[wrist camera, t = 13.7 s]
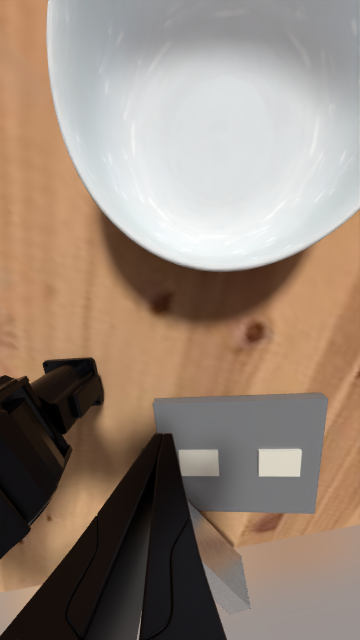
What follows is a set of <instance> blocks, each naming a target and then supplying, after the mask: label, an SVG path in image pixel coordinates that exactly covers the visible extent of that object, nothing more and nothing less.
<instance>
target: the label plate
mask: <svg viewBox="0 0 360 640" xmlns="http://www.w3.org/2000/svg"><path fill="white" fill-rule="evenodd" d="M327 404H328V398H327V397H326V396H325V395H323V394H322V393H301V394H273V395H245V396H216V397H188V398H159V399H154V402H153V408H154V415H155V421H156V428H157V433H163V434H164V433H172V434H173V438H174V443H175V447H176V452H177V456H178V461H179V465H180V470H181V474H182V479H183V483H184V488H185V492H186V497H187V500H188V501H189V502H190V503H191V504H192V505H193V507H194V508H195V509H196V510H197V511H223V512H265V513H308V514H315V506H316V497H317V489H318V480H319V472H320V464H321V455H322V447H323V438H324V430H325V421H326V413H327ZM142 451H143V449H142V450H141V452H142ZM140 454H141V453H140Z"/></svg>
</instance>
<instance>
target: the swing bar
mask: <svg viewBox="0 0 360 640" xmlns="http://www.w3.org/2000/svg"><path fill="white" fill-rule="evenodd" d="M132 465H133V464H132ZM187 501H188V500H187ZM188 506H189V510H190V515H191V519H192V523H193V528H194V532H195V536H196V540H197V544H198V548H199V552H200V556H201V559H202V563H203V566H204V569H205V573H206V576H207V579H208V583H209V586H210V589H211V592H212V595H213V598H214V600H215V601H216V602H217V603H218V604H219V605H220V606H221V607H222V608H223V609H224V610H225V611H226V612H228V613H229V614H234V613H237V612H241V611H244V610H247V609H250V602H249V596H248V591H247V585H246V580H245V575H244V569H243V563H242V557H241V556H240V554H239V553H237V551H236V550H235V549H234V548H233V547H232V546H231V545H230V544H229V543H228V542H227V541H226V540H225V539H224V538H223V537H222V536H221V535H220V534H219V533H218V532H217V530H216V529H215V528H214V527H213V526H212V525H211V524H210V523H209V522H208V521H207V520H206V519H205V518H204V517H203V516H202V515H201V514H200V513H199V512H198V511H197V510H196V509H195V508H194V507H193V505H192V504H191V503H190V502H189V501H188Z"/></svg>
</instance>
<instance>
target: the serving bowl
mask: <svg viewBox="0 0 360 640" xmlns="http://www.w3.org/2000/svg"><path fill="white" fill-rule="evenodd" d="M47 55H48V70H49V78H50V86H51V92H52V97H53V103H54V107H55V112H56V116H57V120H58V124H59V127H60V131H61V134H62V136H63V139H64V142H65V145H66V148H67V151H68V153H69V156H70V158H71V160H72V162H73V165H74V167H75V169H76V171H77V173H78V175H79V177H80V179H81V181H82V182H83V184H84V186H85V188H86V189H87V191H88V192H89V194H90V196H91V197H92V199H93V200H94V201H95V203H96V204H97V206H98V207H99V208H100V209H101V211H102V212H103V213H104V214H105V215H106V216H107V218H108V219H109V220H110V221H111V222H112V223H113V224H114V225H115V226H116V227H117V228H118V229H119V230H120V231H121V232H122V233H123V234H125V235H126V236H127V237H128V238H129V239H131V240H132V241H133V242H134V243H136V244H137V245H139V246H140V247H142V248H143V249H145V250H146V251H148V252H150V253H152V254H153V255H155V256H157V257H159V258H161V259H163V260H166V261H168V262H171V263H173V264H176V265H179V266H182V267H186V268H191V269H195V270H201V271H210V272H233V271H242V270H249V269H254V268H258V267H262V266H266V265H269V264H272V263H276V262H278V261H281V260H283V259H286V258H288V257H291V256H293V255H295V254H297V253H299V252H301V251H303V250H305V249H307V248H308V247H310V246H312V245H314V244H315V243H317V242H319V241H320V240H322V239H323V238H324V237H326V236H327V235H329V234H330V233H332V232H333V231H334V230H336V229H337V228H338V227H340V226H341V225H342V224H343V223H345V222H346V221H347V220H348V219H350V218H351V217H352V216H353V215H354V214H355V213H356V212H357V211H358V210H359V209H360V0H48V10H47Z"/></svg>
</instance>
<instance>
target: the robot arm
mask: <svg viewBox="0 0 360 640" xmlns="http://www.w3.org/2000/svg"><path fill="white" fill-rule="evenodd" d="M89 361H90V362H91V363H89ZM43 368H44V371H45V375H43V376H42V377H40V378H39V379H37V380H36V381H34V382H33V383H31V384H30V383H29V382H28V381H29V379H28V378H27V376H24V377H21V378H18V379H14V378H11V377H9V376H6V375H4V376H1V377H0V559H1V558H2V557H3V556H4V555H5V554H6V553H7V552H8V551H9V550H10V549H11V548H12V547H14V546H15V545H16V544H17V543H18V542H19V541H21V540H22V539H23V538H24V537H25V536H26V535H27V534H28V533H29V531H30V529H31V527H30V525H32V524H33V522H34V521H35V520H36V519H37V518H38V517H39V516H40V514H41V513H42V512H43V511H44V509H45V508H46V507H47V505H48V503H49V502H50V500H51V499H52V497H53V495H54V493H55V492H56V489H57V487H58V483H59V481H60V478H61V476H62V474H63V471H64V469H65V466H66V464H67V462H68V459H69V457H70V455H71V452H72V450H73V449H72V447H71V446H70V445H68V443H67V442H66V440H65V439H64V437H63V436H62V434H66V433H67V432H68V430H69V429H70V428H71V427H72V425H73V424H74V423H75V422H76V421H77V419H78V418H81V417H82V416H83V415H84V414H85V413H86V411H87V410H88V409H89V408H90V406H98V405H101V404H102V402H103V397H102V390H101V386H100V381H99V377H98V374H97V370H96V366H95V361H94V359H93V358H73V359H56V360H46V361H45V362H43ZM141 611H142V615H141ZM140 617H141V625H140V626H141V627H140V635H139V640H227V639H226V635H225V632H224V629H223V626H222V623H221V620H220V617H219V614H218V611H217V607H216V604H215V601H214V598H213V595H212V592H211V589H210V586H209V583H208V579H207V576H206V573H205V569H204V566H203V563H202V559H201V556H200V552H199V548H198V544H197V540H196V536H195V532H194V528H193V523H192V519H191V515H190V510H189V506H188V501H187V497H186V492H185V488H184V483H183V479H182V474H181V470H180V465H179V461H178V456H177V452H176V447H175V443H174V438H173V434H172V433H164V434H163V433H155V434H154V435H153V437H152V438H151V440H150V441H149V442H148V444H147V445H146V447H145V448H144V449H143V451H142V452H141V454H140V455H139V456H138V458H137V459H136V461H135V462H134V463H133V465H132V466H131V468H130V469H129V470H128V472H127V473H126V475H125V476H124V477H123V479H122V480H121V481H120V483H119V484H118V486H117V487H116V488H115V490H114V491H113V493H112V494H111V495H110V497H109V498H108V500H107V501H106V502H105V504H104V505H103V507H102V508H101V509H100V511H99V512H98V514H97V516H95V518H94V519H93V520H92V522H91V523H90V525H89V526H88V527H87V529H86V530H85V531H84V533H83V534H82V535H81V537H80V538H79V539H78V541H77V542H76V543H75V545H74V546H73V547H72V549H71V550H70V551H69V553H68V554H67V555H66V556H65V558H64V559H63V560H62V561H61V563H60V564H59V565H58V566H57V568H56V569H55V570H54V571H53V573H52V574H51V575H50V576H49V577H48V579H47V580H46V581H45V582H44V583H43V585H42V586H41V587H40V589H39V590H38V591H37V592H36V593H35V594H34V596H33V597H32V598H31V599H30V601H29V602H28V603H27V604H26V605H25V607H24V608H23V609H22V610H21V611H20V613H19V614H18V615H17V617H16V618H15V619H14V620H13V621H12V623H11V624H10V625H9V626H8V627H7V629H6V630H5V631H4V632H3V633H2V635H1V636H0V640H136V639H137V634H138V628H139V623H140Z"/></svg>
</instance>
